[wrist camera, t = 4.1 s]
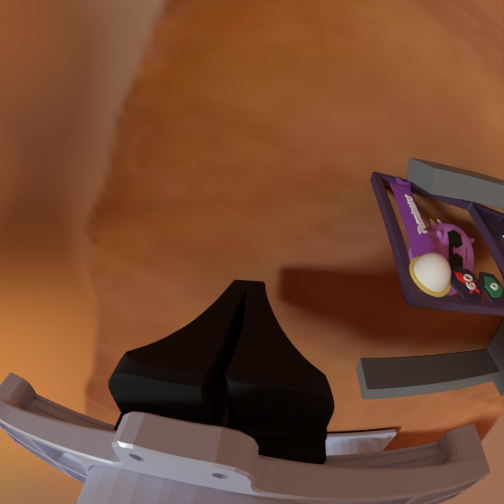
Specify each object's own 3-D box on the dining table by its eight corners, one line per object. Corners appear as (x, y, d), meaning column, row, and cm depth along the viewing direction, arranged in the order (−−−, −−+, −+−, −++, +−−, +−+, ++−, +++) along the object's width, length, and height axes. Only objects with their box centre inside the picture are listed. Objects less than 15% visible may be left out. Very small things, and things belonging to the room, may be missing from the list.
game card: (566, 303, 6) (424, 280, 6) (499, 363, 10) (353, 364, 10) (511, 204, 11) (376, 156, 11) (469, 267, 15) (344, 243, 15)
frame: (489, 357, 16) (508, 393, 12) (356, 369, 17) (365, 419, 13) (552, 197, 10) (592, 221, 7) (409, 157, 11) (455, 177, 7)
